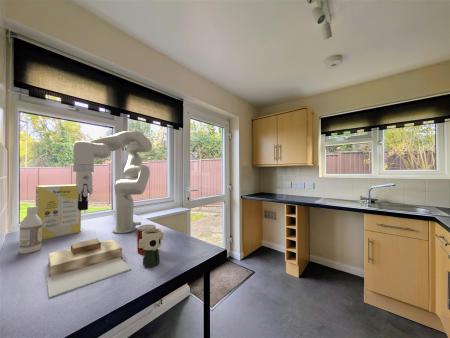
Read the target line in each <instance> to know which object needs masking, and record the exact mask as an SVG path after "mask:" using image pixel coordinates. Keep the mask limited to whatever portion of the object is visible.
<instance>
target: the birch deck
mask: <svg viewBox="0 0 450 338" xmlns="http://www.w3.org/2000/svg"><path fill="white" fill-rule="evenodd" d="M100 242H101V248H100V249H96V250H91V251H87V252H83V253H79V254H75V255H73V253H72V251H71V247H70V248H67V249H62V250H58V251H52V252H48V268H49V269H48V270H49V273H50V274H49V275H50V277H54V276H57V275H61V274H64V273H67V272H71V271H74V270H78V269H81V268H85V267H88V266H91V265H95V264H98V263H102V262H105V261H109V260H112V259H115V258H119V257H120V258H122V257H123V247H122V246H121V245H120V244H119V243H117V242H116V241H115V240H114V239H113V238H112V239H108V240H103V241H100Z"/></svg>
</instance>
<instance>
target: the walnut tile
mask: <svg viewBox="0 0 450 338" xmlns="http://www.w3.org/2000/svg"><path fill="white" fill-rule="evenodd" d="M101 242H102V241H100V240H99V239H98V238H91V239H88V240H87V239H86V240H82V241H78V242H73V243H70V248H71V251H72V253H73V255H75V254H79V253H83V252H87V251H91V250H96V249H100V248H101Z"/></svg>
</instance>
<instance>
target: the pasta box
mask: <svg viewBox="0 0 450 338" xmlns="http://www.w3.org/2000/svg"><path fill="white" fill-rule="evenodd" d="M78 201H80V200H78V193H76V183H75V184H55V185H54V184H53V185H51V184H49V185H46V184H45V185H36V186H35V206H36V214H37V215H38V216H39V218H40V219H41V221H42V240H47V239H50V238H51V239H52V238H57V237H60V236H61V237H62V236H67V235H71V234H77V233H81V228H82V227H81V226H82V225H81V224H82V222H81V221H82V210H78Z"/></svg>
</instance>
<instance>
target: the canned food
mask: <svg viewBox="0 0 450 338" xmlns="http://www.w3.org/2000/svg"><path fill="white" fill-rule="evenodd" d="M147 229H157V228H156V225H155V224H143V225H142V224H141V225H138V227H137V236H136V237H137V244H136V245H137V246H136V248H137V250H136V251H137V253H138V254H140V255H144V252H145V250H144V249H142V248H139V240H140V239H142V232H143V231H144V230H147Z"/></svg>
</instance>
